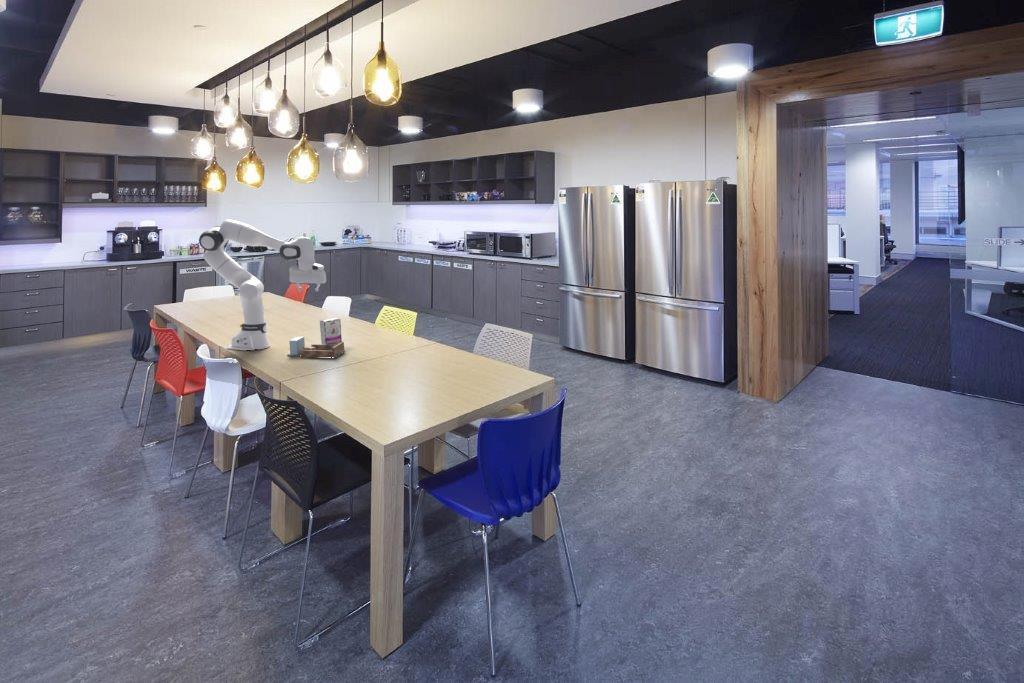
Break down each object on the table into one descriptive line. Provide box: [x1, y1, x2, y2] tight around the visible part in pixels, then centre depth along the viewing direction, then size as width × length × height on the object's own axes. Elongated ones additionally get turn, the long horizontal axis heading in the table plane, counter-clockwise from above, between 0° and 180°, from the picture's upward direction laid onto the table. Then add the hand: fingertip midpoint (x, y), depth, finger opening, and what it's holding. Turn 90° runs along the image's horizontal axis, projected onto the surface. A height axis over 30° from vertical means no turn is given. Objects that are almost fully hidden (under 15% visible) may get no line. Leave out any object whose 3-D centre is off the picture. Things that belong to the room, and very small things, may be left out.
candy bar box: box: [319, 317, 343, 345], centre depth 337 cm, size 11×5×16 cm, turn 143°
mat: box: [287, 353, 301, 357], centre depth 322 cm, size 7×11×1 cm, turn 176°
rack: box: [300, 341, 345, 359], centre depth 320 cm, size 18×15×6 cm
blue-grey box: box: [288, 336, 306, 355], centre depth 321 cm, size 4×10×8 cm, turn 176°
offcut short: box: [303, 345, 316, 350], centre depth 321 cm, size 3×6×2 cm, turn 64°
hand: (308, 290), depth 329 cm, fingers open, 8 cm apart
